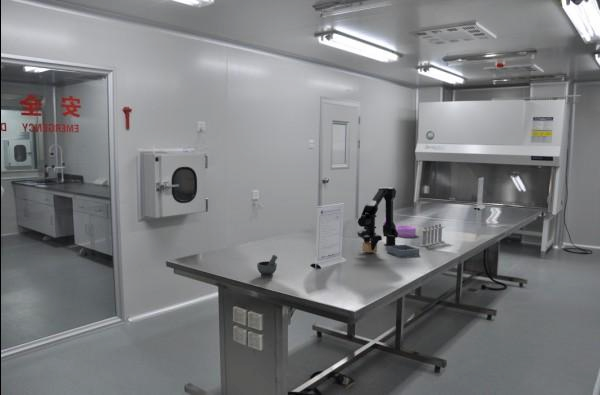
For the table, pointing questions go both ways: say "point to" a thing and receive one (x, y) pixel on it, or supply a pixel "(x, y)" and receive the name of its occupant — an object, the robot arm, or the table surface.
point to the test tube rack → (432, 235)
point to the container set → (405, 230)
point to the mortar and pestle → (267, 267)
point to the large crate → (403, 250)
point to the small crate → (369, 247)
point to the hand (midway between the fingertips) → (369, 249)
